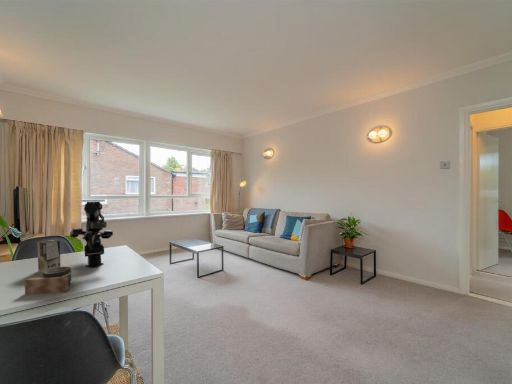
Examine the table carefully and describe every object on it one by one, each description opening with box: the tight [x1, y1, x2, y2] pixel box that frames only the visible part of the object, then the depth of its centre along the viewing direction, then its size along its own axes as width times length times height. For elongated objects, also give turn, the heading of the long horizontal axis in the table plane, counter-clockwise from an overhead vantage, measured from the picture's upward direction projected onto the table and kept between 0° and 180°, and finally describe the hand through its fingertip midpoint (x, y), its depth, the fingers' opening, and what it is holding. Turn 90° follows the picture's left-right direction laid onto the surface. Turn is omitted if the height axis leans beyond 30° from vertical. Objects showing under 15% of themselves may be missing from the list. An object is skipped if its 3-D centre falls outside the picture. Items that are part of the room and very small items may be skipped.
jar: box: [42, 266, 72, 285], centre depth 108 cm, size 10×10×8 cm
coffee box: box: [37, 239, 61, 273], centre depth 128 cm, size 9×6×16 cm
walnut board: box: [24, 276, 70, 295], centre depth 102 cm, size 16×2×6 cm, turn 95°
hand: (91, 248), depth 125 cm, fingers closed
